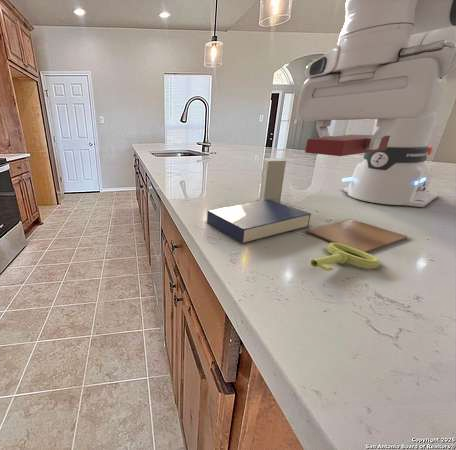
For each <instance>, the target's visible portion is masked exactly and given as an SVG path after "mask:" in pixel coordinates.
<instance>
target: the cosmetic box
mask: <svg viewBox="0 0 456 450" xmlns="http://www.w3.org/2000/svg"><path fill="white" fill-rule="evenodd" d="M286 163H287V160H285V159H283V158H281V157H270V158H269V157H264V158H263V160H262V171H261V179H260V187H259V189H260V190H259V197H258V201H261V200H267V199H268V200H271V201H274V202H277V203H280V204H281V199H282V192H283V185H284V179H285V172H286V171H285V170H286V165H287V164H286Z"/></svg>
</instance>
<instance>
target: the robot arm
mask: <svg viewBox="0 0 456 450" xmlns="http://www.w3.org/2000/svg"><path fill="white" fill-rule="evenodd" d="M304 77H305V78H307V79H306V80H305V81H304V83H303V84H302V86H301V89H300V92H299V96H298V101H297V105H296V113H295V114H296V117H297V120H298V121H300V122H304V121H305V122H308V121H310V122H311V121H314V122H315V121H316V124H315V129H316V132H317V134H318V136H319V138H323V137H333V136H334V135H330V133H329V132H330V131H329V127H330V126H331V124H332V121H351V120H352V121H353V120H355V121H356V120H374V125H373V129H372V133H371V135H373V136H372V137H371V138H365V141H364V145H363V149H371V150H374V149H378V148H379V145H380V142H381V139H382V138H383V137H384V136H390V138H389V141H388V144H387V148H386V150H381V151H374V152H367V153H363V159H364V160H362V162H360V163H358V164H357V165H356V167H355V169H354V171H353V174H352V176H351V177H343V178H342V179H341V182H349V185H348V186H344V187H343V192H345V193H347V195H348V196H349V197H351V198H354V199H356V200H359V201H363V202H369V203H375V204H380V205H389V206H390V205H391V206H407V207H417V208H423V207H425V206H427V205H428V204H429V203H431V202H432V201H433V200H435V199H436V198H437V197H438V192H437V193H436V192H434V191H429V190H428V189H429V186H430V183H431V180H432V177H433V175H432V174H431V172H430V171H429V168H428V167H427V165H426V163H425V162H426V161H427V159H428V156H431V154H433V150H434V147H433V146H428V144H429V141H430V139H431V136H432V134H433V132H434V128H435V126H436V124H437V123H436V122H437V120H438V117H439V115H438V110H439V109H440V108H441V107H440V106H441V104H442V101H443V97H444V94H445V88H446V84H447V83H451V82H456V0H346V2H345V20H344V24H343V28H342V29H341V32H340V34H339V36H338V40H337V46H335V47H334V48H332V49H330V50H329V51H327V52H326V53H325V54H323V55H322V56H320V57H318V58H317V59H315V60H313V61H312V62H310V63H308V64H307V65H306V66H305V69H304Z"/></svg>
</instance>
